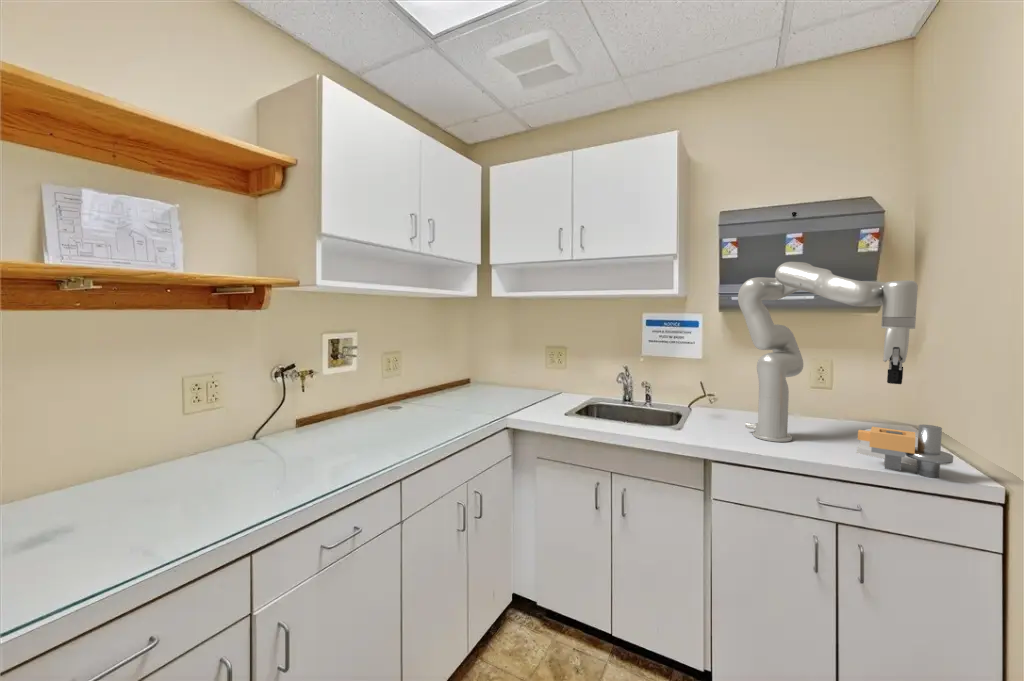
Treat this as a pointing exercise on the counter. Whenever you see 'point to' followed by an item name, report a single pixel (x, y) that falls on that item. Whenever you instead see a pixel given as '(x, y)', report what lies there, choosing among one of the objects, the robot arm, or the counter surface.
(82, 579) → the counter surface
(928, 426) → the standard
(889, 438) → the bracket
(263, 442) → the counter surface
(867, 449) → the white curved casing
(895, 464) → the grey rectangular bar
